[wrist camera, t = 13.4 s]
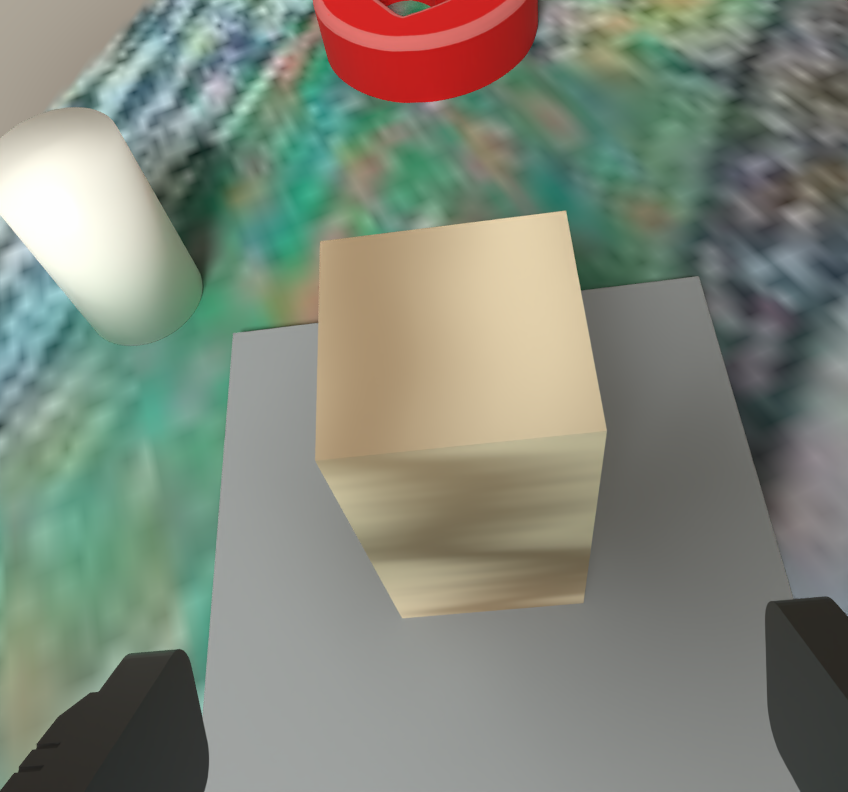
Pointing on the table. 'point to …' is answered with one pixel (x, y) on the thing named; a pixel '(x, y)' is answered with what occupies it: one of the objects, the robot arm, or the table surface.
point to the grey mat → (513, 628)
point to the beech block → (462, 412)
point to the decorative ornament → (425, 45)
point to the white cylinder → (97, 225)
